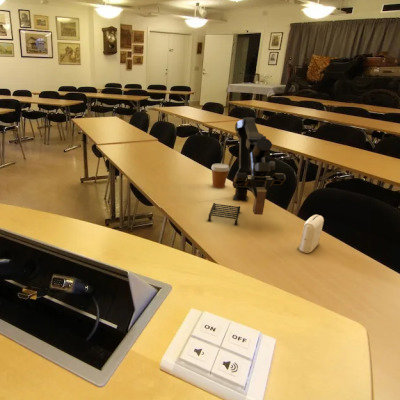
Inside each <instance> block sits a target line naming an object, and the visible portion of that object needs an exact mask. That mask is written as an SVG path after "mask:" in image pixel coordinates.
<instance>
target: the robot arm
mask: <svg viewBox="0 0 400 400" xmlns="http://www.w3.org/2000/svg"><path fill="white" fill-rule="evenodd" d="M234 131H235V136H236V137H237V138H238V142H239V146H238V147H239V148H238V149H239V152H238V169H237V171H236V172H235V176H234V177H233V180H232V187H233V188H234V190H235V191H234V195H233V201H241V202H248V198H249V196H248V192H249V191H250V192H251V194H252V195H253V197H254V198H257V191H256V187H257V186H256V182H264V184H263V185H262V187H265V189H266V190H267V192H266V197H265V200H266V199H267V196H268V193H269V189H270V187H272V186H282V185H283V184H284V182H285V181H286V180H287V178H286V176H287V175H286V174H285V173H283V172H274V173H273V175H269V174H270V173H269V172H271V171H273V170H275V169H276V161H274V160H270V161H268V162H266V157H267V155H268V154H269V152H270V150H271V149H272V146H273V143H272V141H271V140H270V139H268V138H267V136H266V135H264V134H263V133H261V132H259V130H258V126H257V124H256V118H255V117H243V118H241V119H240V120H237V121H236V123H235V125H234ZM248 190H249V191H248Z"/></svg>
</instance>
